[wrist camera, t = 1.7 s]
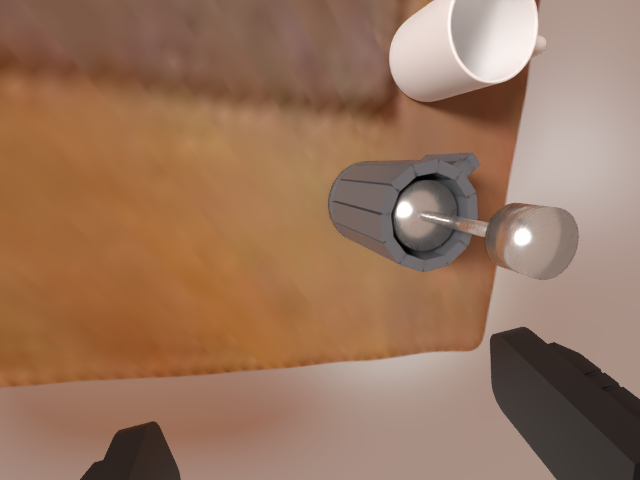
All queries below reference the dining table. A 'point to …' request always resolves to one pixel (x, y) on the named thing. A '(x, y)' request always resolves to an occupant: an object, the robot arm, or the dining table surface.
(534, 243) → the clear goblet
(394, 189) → the gray tankard
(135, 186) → the dining table surface
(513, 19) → the cup
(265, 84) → the dining table surface
